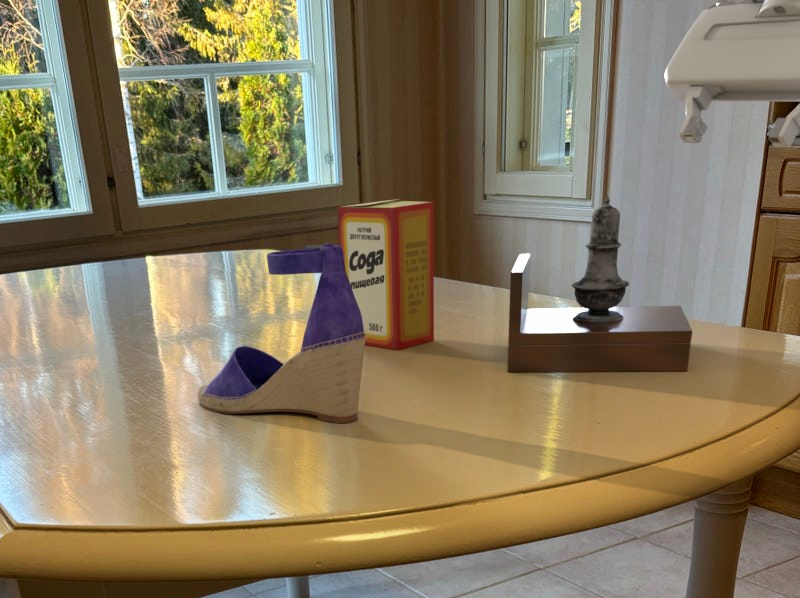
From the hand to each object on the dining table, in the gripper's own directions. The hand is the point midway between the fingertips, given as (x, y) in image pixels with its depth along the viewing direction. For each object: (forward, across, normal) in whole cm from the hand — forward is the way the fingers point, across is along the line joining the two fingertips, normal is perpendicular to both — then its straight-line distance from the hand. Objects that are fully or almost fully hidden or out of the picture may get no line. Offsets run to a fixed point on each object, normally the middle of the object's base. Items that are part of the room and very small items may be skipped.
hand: (731, 141), depth 86 cm
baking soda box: (+26, -35, +2) cm, 44 cm away
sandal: (+40, -18, -22) cm, 49 cm away
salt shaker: (+16, -10, +6) cm, 20 cm away
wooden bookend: (+20, -10, +8) cm, 23 cm away
